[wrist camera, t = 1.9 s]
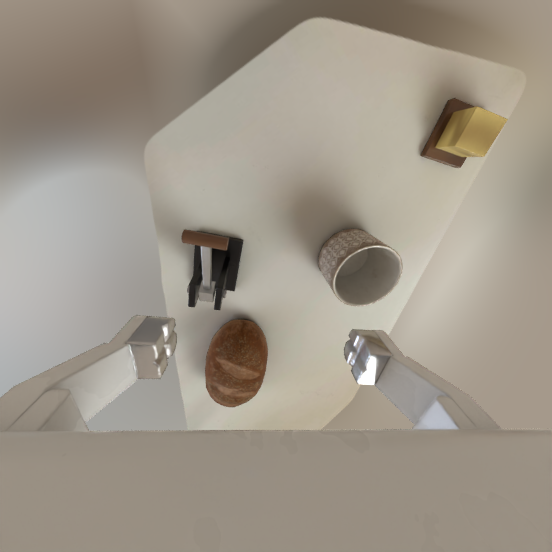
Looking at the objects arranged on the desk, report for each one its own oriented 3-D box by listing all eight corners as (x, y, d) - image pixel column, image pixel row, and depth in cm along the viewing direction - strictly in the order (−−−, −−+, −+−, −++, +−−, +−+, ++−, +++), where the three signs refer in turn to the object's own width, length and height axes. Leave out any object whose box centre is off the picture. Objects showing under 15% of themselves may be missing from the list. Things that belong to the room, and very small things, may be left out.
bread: (273, 317, 52) (278, 354, 42) (256, 385, 66) (257, 425, 56) (210, 312, 49) (200, 350, 39) (207, 384, 63) (199, 426, 53)
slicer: (196, 230, 39) (174, 258, 28) (243, 239, 41) (239, 269, 30) (194, 282, 44) (174, 322, 33) (235, 288, 46) (229, 328, 35)
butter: (448, 100, 32) (479, 90, 28) (485, 115, 34) (520, 109, 30) (420, 155, 36) (443, 155, 32) (455, 167, 38) (482, 168, 33)
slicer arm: (185, 224, 23) (179, 238, 22) (229, 232, 24) (226, 247, 23) (194, 287, 34) (190, 299, 33) (223, 291, 35) (221, 303, 34)
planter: (324, 286, 49) (340, 315, 40) (310, 240, 42) (325, 262, 33) (375, 267, 47) (404, 292, 38) (368, 217, 41) (400, 233, 32)
